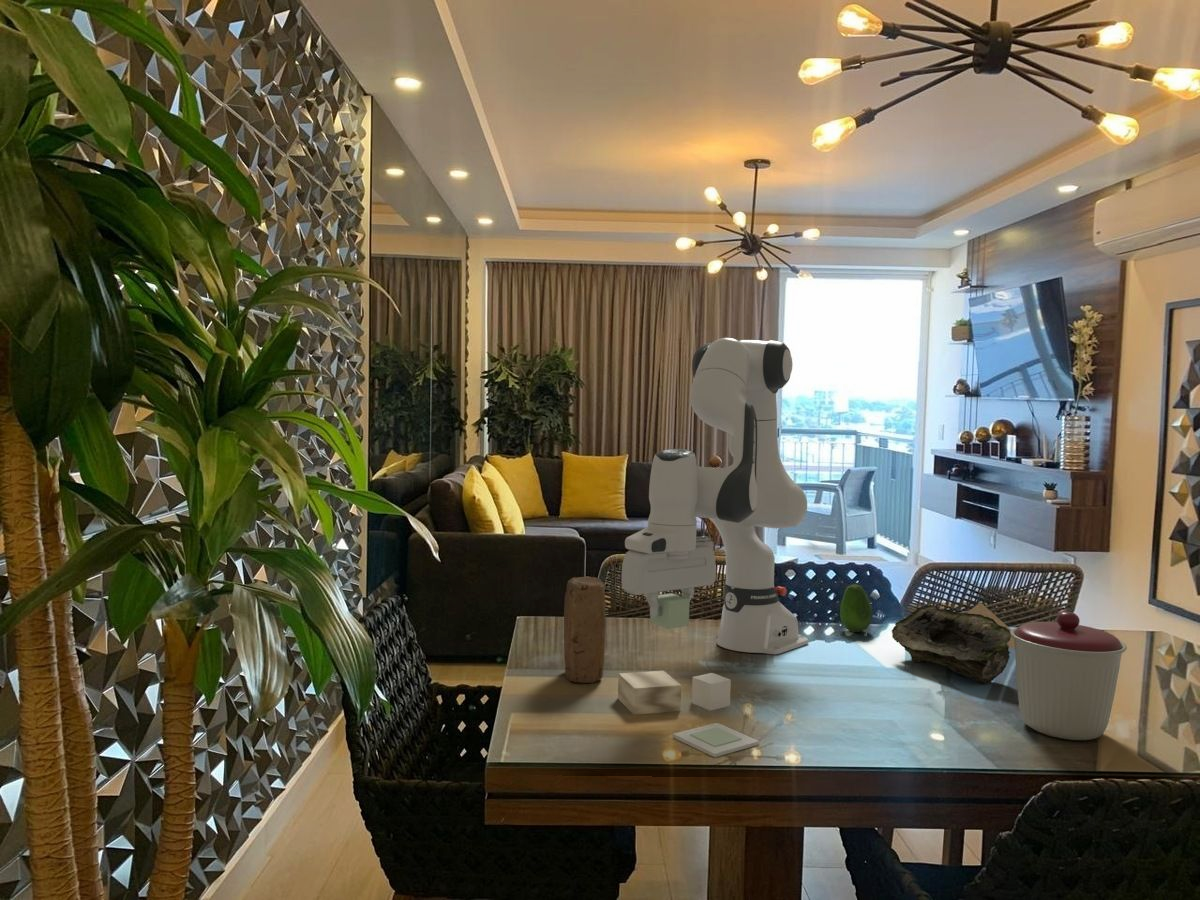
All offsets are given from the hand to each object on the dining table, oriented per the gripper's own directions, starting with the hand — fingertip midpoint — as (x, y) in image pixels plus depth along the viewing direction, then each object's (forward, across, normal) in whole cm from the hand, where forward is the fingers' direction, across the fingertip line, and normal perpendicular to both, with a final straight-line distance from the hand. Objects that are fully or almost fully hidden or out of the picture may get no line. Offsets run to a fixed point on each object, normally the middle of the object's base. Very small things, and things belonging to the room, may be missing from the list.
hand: (669, 613), depth 163 cm
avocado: (+17, -77, -17) cm, 81 cm away
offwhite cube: (+17, -8, +3) cm, 19 cm away
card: (+17, +4, +17) cm, 25 cm away
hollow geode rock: (+17, -67, +16) cm, 71 cm away
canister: (+17, -52, +47) cm, 72 cm away
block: (+18, +3, -23) cm, 29 cm away
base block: (+18, +2, -3) cm, 18 cm away
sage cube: (+2, 0, 0) cm, 2 cm away
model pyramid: (+18, -97, +5) cm, 98 cm away
